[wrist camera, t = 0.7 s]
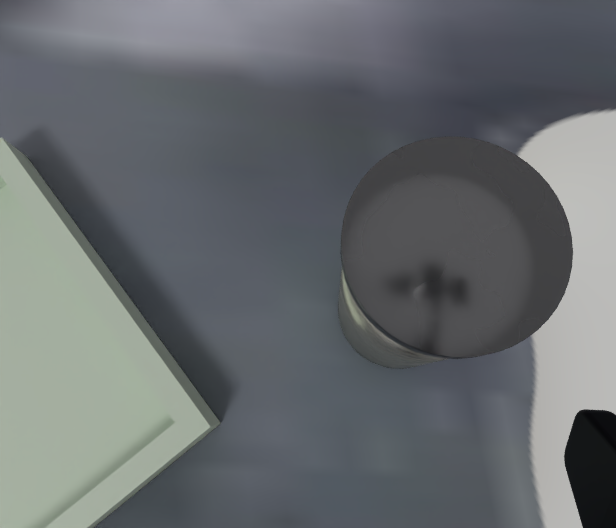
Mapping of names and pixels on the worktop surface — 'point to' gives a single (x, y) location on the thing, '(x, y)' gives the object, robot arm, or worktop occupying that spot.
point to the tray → (76, 371)
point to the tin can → (450, 254)
